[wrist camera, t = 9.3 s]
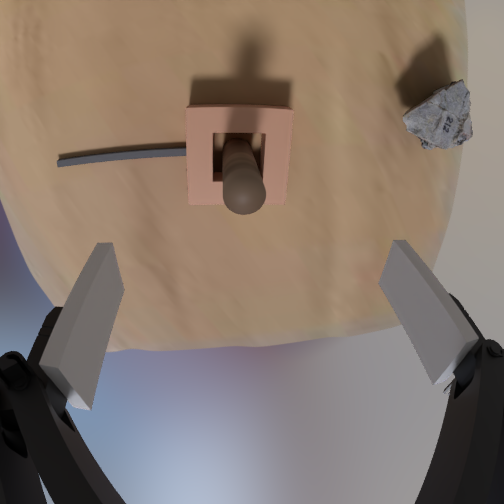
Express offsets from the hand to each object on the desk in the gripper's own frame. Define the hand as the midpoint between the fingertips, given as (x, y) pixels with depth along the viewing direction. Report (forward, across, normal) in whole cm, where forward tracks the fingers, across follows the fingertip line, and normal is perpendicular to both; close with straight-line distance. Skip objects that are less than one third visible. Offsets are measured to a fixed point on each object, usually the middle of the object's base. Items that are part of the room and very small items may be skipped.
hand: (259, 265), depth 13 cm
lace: (+20, -13, 0) cm, 24 cm away
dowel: (+20, 0, 0) cm, 20 cm away
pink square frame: (+20, 0, 0) cm, 20 cm away
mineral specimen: (+21, +22, +7) cm, 31 cm away
